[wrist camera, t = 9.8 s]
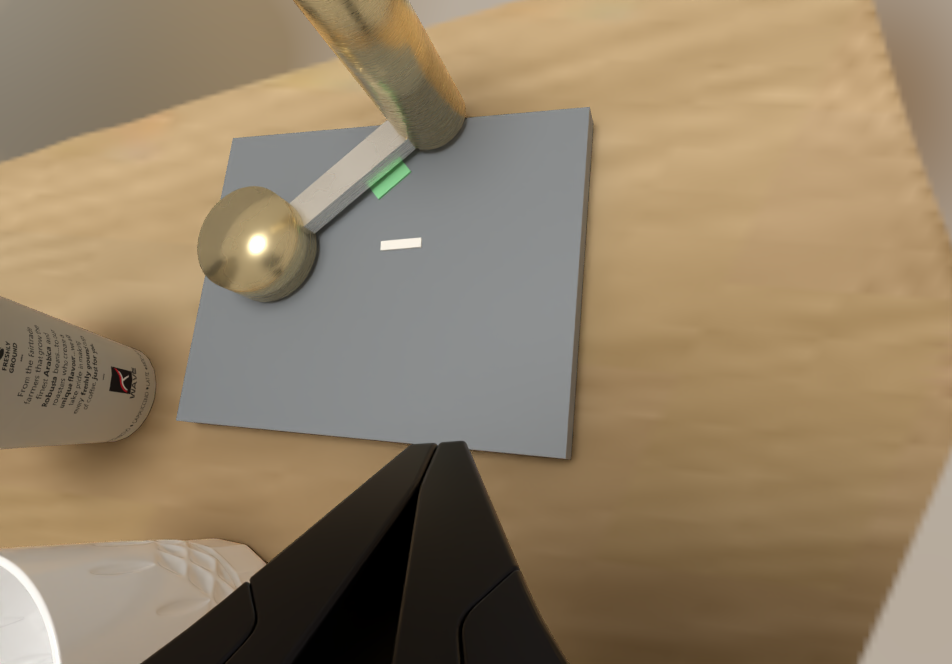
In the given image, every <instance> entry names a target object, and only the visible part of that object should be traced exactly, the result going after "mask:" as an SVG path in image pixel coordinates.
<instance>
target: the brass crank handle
mask: <svg viewBox="0 0 952 664" xmlns="http://www.w3.org/2000/svg"><path fill="white" fill-rule="evenodd" d="M293 1H294V2H295V4H296V5H297V6H298V7H299V9H300V10H301V11H302V12H303V14H304V15H305V16H306V18H307V19H308V20H309V21H310V22H311V24H312V25H313V26H314V28H315V29H316V30H317V31H318V33H319V34H320V35H321V37H322V38H323V39H324V40H325V42H326V43H327V44H328V45H329V47H330V48H331V49H332V50H333V52H334V53H335V54H336V55H337V57H338V58H339V59H340V61H341V62H342V63H343V64H344V66H345V67H346V68H347V69H348V71H349V72H350V73H351V74H352V76H353V77H354V78H355V79H356V81H357V82H358V83H359V84H360V86H361V87H362V88H363V90H364V91H365V92H366V93H367V95H368V96H369V97H370V98H371V100H372V101H373V102H374V103H375V105H376V106H377V107H378V108H379V110H380V111H381V112H382V114H383V115H384V116H385V117H386V119H387V121H386V122H384V123H383V124H382V125H381V126H380V127H378V128H377V129H376V130H375V131H374V132H373V133H371V134H370V135H369V136H368V137H367V138H366V139H364V140H363V141H362V142H361V143H360V144H358V145H357V146H356V147H355V148H354V149H353V150H351V151H350V152H349V153H348V154H347V155H346V156H344V157H343V158H342V159H341V160H340V161H338V162H337V163H336V164H335V165H334V166H333V167H331V168H330V169H329V170H328V171H327V172H326V173H324V174H323V175H322V176H321V177H320V178H319V179H317V180H316V181H315V182H314V183H313V184H311V185H310V186H309V187H308V188H307V189H306V190H304V191H303V192H302V193H301V194H300V195H299V196H297V197H296V198H295V199H294V200H293V201H291V202H290V203H288V202H287V201H285V200H284V199H283V198H281V197H280V196H278V195H277V194H276V193H274V192H273V191H271V190H269V189H267V188H264V187H259V186H249V187H243V188H240V189H237V190H235V191H233V192H231V193H229V194H228V195H226V196H225V197H224V198H222V199H221V200H220V201H219V202H218V203H217V204H216V205H215V206H214V207H213V208H212V210H211V211H210V213H209V214H208V215H207V217H206V219H205V221H204V223H203V225H202V228H201V231H200V234H199V238H198V246H197V251H198V260H199V263H200V266H201V269H202V271H203V272H204V274H205V275H206V276H207V278H208V279H209V280H210V281H212V282H213V283H215V284H216V285H218V286H221V287H223V288H225V289H228V290H230V291H232V292H235V293H237V294H239V295H242V296H244V297H246V298H249V299H251V300H254V301H258V302H271V301H276V300H279V299H281V298H284V297H285V296H287V295H289V294H290V293H292V292H293V291H294V290H296V289H297V288H298V287H299V286H300V285H301V284H302V282H303V281H304V280H305V278H306V277H307V276H308V274H309V272H310V270H311V268H312V266H313V263H314V260H315V257H316V251H317V238H316V232H317V231H318V230H319V229H321V228H322V227H323V226H324V225H325V224H327V223H328V222H329V221H330V220H331V219H333V218H334V217H335V216H336V215H337V214H339V213H340V212H341V211H342V210H343V209H345V208H346V207H347V206H348V205H349V204H350V203H352V202H353V201H354V200H355V199H356V198H358V197H359V196H360V195H361V194H362V193H364V192H365V191H366V190H367V189H368V188H370V187H371V186H372V185H373V184H374V183H375V182H377V181H378V180H379V179H380V178H381V177H383V176H384V175H385V174H386V173H387V172H389V171H390V170H391V169H392V168H393V167H395V166H396V165H397V164H398V163H399V162H401V161H402V160H403V159H404V158H405V157H406V156H408V155H409V154H410V153H411V152H412V151H414V150H415V149H419V150H432V149H436V148H439V147H441V146H443V145H445V144H446V143H448V142H449V141H450V140H452V139H453V138H454V137H455V136H456V134H457V133H458V132H459V130H460V129H461V127H462V125H463V122H464V119H465V113H466V108H465V103H464V100H463V98H462V96H461V95H460V93H459V91H458V89H457V87H456V86H455V84H454V82H453V80H452V78H451V76H450V75H449V73H448V71H447V69H446V67H445V66H444V64H443V62H442V60H441V58H440V56H439V55H438V53H437V51H436V49H435V47H434V46H433V44H432V42H431V40H430V38H429V36H428V35H427V33H426V31H425V29H424V27H423V26H422V24H421V22H420V20H419V18H418V16H417V15H416V13H415V11H414V9H413V8H412V6H411V4H410V2H409V0H293Z"/></svg>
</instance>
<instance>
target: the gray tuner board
mask: <svg viewBox="0 0 952 664" xmlns="http://www.w3.org/2000/svg"><path fill="white" fill-rule="evenodd" d="M380 126H381V125H379V126H368V127H357V128H345V129H334V130H322V131H311V132H300V133H288V134H277V135H266V136H254V137H243V138H233V141H232V146H231V151H230V156H229V161H228V166H227V171H226V176H225V181H224V185H223V190H222V195H221V199H222V198H224V197H225V196H226V195H228V194H229V193H231V192H233V191H235V190H237V189H240V188H243V187H249V186H259V187H264V188H267V189H269V190H271V191H273V192H274V193H276V194H277V195H278V196H280V197H281V198H283V199H284V200H285V201H287V202H288V203H290V202H291V201H293V200H294V199H295V198H296V197H297V196H299V195H300V194H301V193H302V192H303V191H304V190H306V189H307V188H308V187H309V186H310V185H311V184H313V183H314V182H315V181H316V180H317V179H319V178H320V177H321V176H322V175H323V174H324V173H326V172H327V171H328V170H329V169H330V168H331V167H333V166H334V165H335V164H336V163H337V162H338V161H340V160H341V159H342V158H343V157H344V156H346V155H347V154H348V153H349V152H350V151H351V150H353V149H354V148H355V147H356V146H357V145H358V144H360V143H361V142H362V141H363V140H364V139H366V138H367V137H368V136H369V135H370V134H371V133H373V132H374V131H375V130H376V129H377V128H378V127H380ZM592 137H593V120H592V115H591V111H590V107H584V108H573V109H561V110H550V111H539V112H527V113H516V114H504V115H493V116H482V117H470V118H465V119H464V122H463V125H462V127H461V129H460V130H459V132H458V133H457V134H456V136H455V137H454V138H453V139H452V140H450V141H449V142H448V143H446V144H445V145H443V146H441V147H439V148H436V149H432V150H419V149H415V150H414V151H412V152H411V153H410V154H409V155H408V156H406V157H405V158H404V159H403V160H402V161H401V162H399V163H398V164H397V165H396V166H395V167H393V168H392V169H391V170H390V171H389V172H387V173H386V174H385V175H384V176H383V177H381V178H380V179H379V180H378V181H377V182H375V183H374V184H373V185H372V186H371V187H370V188H368V189H367V190H366V191H365V192H364V193H362V194H361V195H360V196H359V197H358V198H356V199H355V200H354V201H353V202H352V203H350V204H349V205H348V206H347V207H346V208H345V209H343V210H342V211H341V212H340V213H339V214H337V215H336V216H335V217H334V218H333V219H331V220H330V221H329V222H328V223H327V224H325V225H324V226H323V227H322V228H321V229H319V230H318V231H317V232H316V238H317V251H316V257H315V260H314V263H313V266H312V268H311V270H310V272H309V274H308V276H307V277H306V278H305V280H304V281H303V282H302V284H301V285H300V286H299V287H298V288H297V289H296V290H294V291H293V292H292V293H290V294H289V295H287V296H285V297H284V298H281V299H279V300H276V301H271V302H258V301H254V300H251V299H249V298H246V297H244V296H242V295H239V294H237V293H235V292H232V291H230V290H228V289H225V288H223V287H221V286H218V285H216V284H215V283H213V282H212V281H210V280H209V279H208V278H207V276H206V275H205V279H204V284H203V289H202V294H201V299H200V304H199V309H198V314H197V319H196V324H195V329H194V334H193V339H192V343H191V348H190V353H189V358H188V363H187V368H186V373H185V378H184V383H183V388H182V393H181V398H180V403H179V408H178V413H177V418H176V420H177V421H186V422H194V423H204V424H214V425H224V426H234V427H244V428H255V429H265V430H275V431H285V432H295V433H305V434H316V435H326V436H336V437H346V438H356V439H366V440H377V441H387V442H397V443H407V444H421V443H436V444H437V445H439V443H441V442H448V441H465V442H466V443H467V445H468V448H469V450H478V451H488V452H499V453H509V454H519V455H529V456H539V457H549V458H560V459H570V460H571V453H572V438H573V423H574V408H575V393H576V378H577V363H578V347H579V332H580V317H581V302H582V287H583V272H584V257H585V242H586V227H587V212H588V197H589V182H590V167H591V152H592Z"/></svg>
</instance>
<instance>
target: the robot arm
mask: <svg viewBox="0 0 952 664" xmlns="http://www.w3.org/2000/svg"><path fill="white" fill-rule="evenodd" d="M249 581H250V583H249V582H244V583H243V584H242V585H241V586H239V587H238V588H237V589H236V590H235V591H233V592H232V593H231V594H230V595H229V596H227V597H226V598H225V599H224V600H222V601H221V602H220V603H219V604H217V605H216V606H215V607H214V608H212V609H211V610H210V611H209V612H207V613H206V614H205V615H204V616H202V617H201V618H200V619H199V620H197V621H196V622H195V623H194V624H192V625H191V626H190V627H189V628H187V629H186V630H185V631H183V632H182V633H181V634H179V635H178V636H177V637H175V638H174V639H173V640H171V641H170V642H169V643H167V644H166V645H165V646H163V647H162V648H161V649H159V650H158V651H157V652H155V653H154V654H152V655H151V656H150V657H148V658H147V659H146V660H144V661H143V662H142V663H140V664H569V662H568V661H567V659H566V658H565V656H564V654H563V653H562V651H561V649H560V648H559V646H558V644H557V643H556V641H555V639H554V637H553V636H552V634H551V632H550V631H549V629H548V627H547V626H546V624H545V622H544V620H543V618H542V616H541V614H540V612H539V610H538V608H537V606H536V604H535V602H534V600H533V597H532V595H531V593H530V591H529V589H528V587H527V584H526V582H525V579H524V577H523V575H522V573H521V572H520V568H519V566H518V564H517V561H516V559H515V557H514V554H513V552H512V549H511V547H510V545H509V542H508V540H507V538H506V535H505V533H504V531H503V528H502V526H501V523H500V521H499V519H498V516H497V514H496V512H495V509H494V507H493V505H492V502H491V500H490V497H489V495H488V493H487V490H486V488H485V486H484V483H483V481H482V479H481V476H480V474H479V471H478V469H477V467H476V464H475V462H474V460H473V457H472V455H471V452H470V450H469V448H468V445H467V443H466V442H465V441H448V442H441V443H439V445H437V444H436V443H421V444H412V445H410V446H408V447H407V448H406V449H405V450H404V451H402V452H401V453H400V454H399V455H398V456H396V457H395V458H394V459H393V460H391V461H390V462H389V463H388V464H387V465H385V466H384V467H383V468H382V469H381V470H379V471H378V472H377V473H376V474H375V475H373V476H372V477H371V478H370V479H369V480H367V481H366V482H365V483H364V484H363V485H361V486H360V487H359V488H358V489H357V490H355V491H354V492H353V493H352V494H351V495H349V496H348V497H347V498H346V499H344V500H343V501H342V502H341V503H340V504H338V505H337V506H336V507H335V508H334V509H332V510H331V511H330V512H329V513H328V514H326V515H325V516H324V517H323V518H322V519H320V520H319V521H318V522H317V523H316V524H314V525H313V526H312V527H311V528H310V529H308V530H307V531H306V532H305V533H304V534H302V535H301V536H300V537H299V538H297V539H296V540H295V541H294V542H293V543H291V544H290V545H289V546H288V547H287V548H285V549H284V550H283V551H282V552H281V553H279V554H278V555H277V556H276V557H275V558H273V559H272V560H271V561H270V562H269V563H267V564H266V565H265V566H264V567H262V568H261V569H260V570H259V571H258V572H256V573H255V574H254V575H253V576H252V577H251V578H250V580H249Z"/></svg>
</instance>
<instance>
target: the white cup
mask: <svg viewBox="0 0 952 664" xmlns="http://www.w3.org/2000/svg"><path fill="white" fill-rule="evenodd" d="M265 565H266V563H265V562H264V561H263V560H262V559H261V558H260V557H259V556H258V555H256V554H255V553H254V552H253V551H252V550H251V549H250V548H249V547H248V546H247V545H245V544H240V543H236V542H231V541H226V540H222V539H217V538H211V539H198V540H185V541H183V540H145V541H104V542H89V543H73V544H57V545H41V546H24V547H6V548H0V664H140V663H142V662H143V661H144V660H146V659H147V658H148V657H150V656H151V655H152V654H154V653H155V652H157V651H158V650H159V649H161V648H162V647H163V646H165V645H166V644H167V643H169V642H170V641H171V640H173V639H174V638H175V637H177V636H178V635H179V634H181V633H182V632H183V631H185V630H186V629H187V628H189V627H190V626H191V625H192V624H194V623H195V622H196V621H197V620H199V619H200V618H201V617H202V616H204V615H205V614H206V613H207V612H209V611H210V610H211V609H212V608H214V607H215V606H216V605H217V604H219V603H220V602H221V601H222V600H224V599H225V598H226V597H227V596H229V595H230V594H231V593H232V592H233V591H235V590H236V589H237V588H238V587H239V586H241V585H242V584H243V583H244V582H249V583H250V581H249V580H250V578H251V577H252V576H253V575H254V574H255V573H256V572H258V571H259V570H260V569H261V568H262V567H264V566H265Z"/></svg>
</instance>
